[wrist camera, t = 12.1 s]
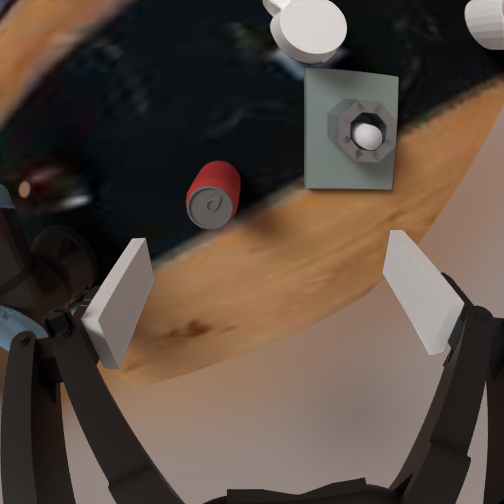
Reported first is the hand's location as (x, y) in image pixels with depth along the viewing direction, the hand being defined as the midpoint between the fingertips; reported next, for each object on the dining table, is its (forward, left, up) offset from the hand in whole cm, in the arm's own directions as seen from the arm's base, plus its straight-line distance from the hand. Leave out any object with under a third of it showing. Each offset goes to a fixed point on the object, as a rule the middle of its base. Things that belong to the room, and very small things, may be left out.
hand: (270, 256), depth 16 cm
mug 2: (+6, +18, -33) cm, 38 cm away
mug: (+42, +28, -33) cm, 60 cm away
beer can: (-6, -5, -33) cm, 34 cm away
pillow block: (+14, +3, -33) cm, 35 cm away
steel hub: (+14, +4, -30) cm, 33 cm away
